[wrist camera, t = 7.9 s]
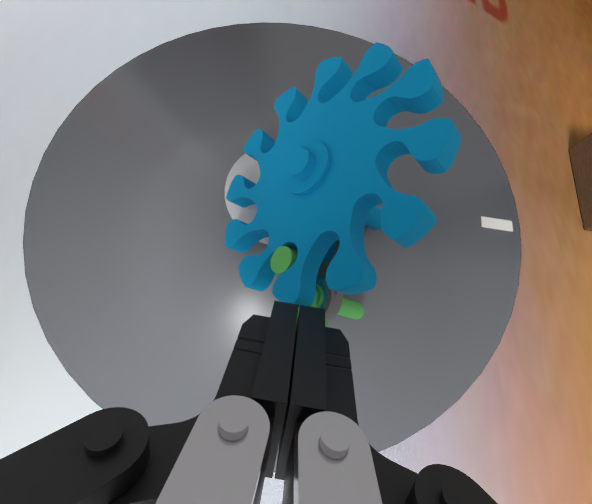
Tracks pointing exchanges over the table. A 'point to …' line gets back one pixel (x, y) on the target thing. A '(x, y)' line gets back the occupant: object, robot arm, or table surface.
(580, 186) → the indicator stand
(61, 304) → the turntable
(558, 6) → the table surface
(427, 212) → the gear
